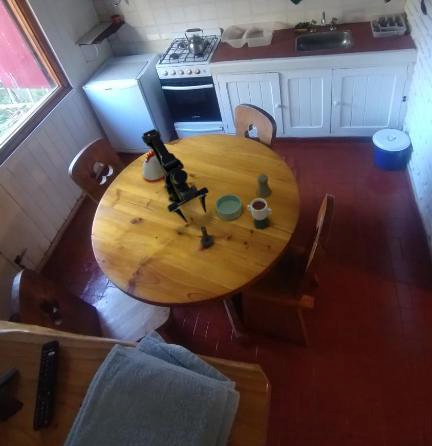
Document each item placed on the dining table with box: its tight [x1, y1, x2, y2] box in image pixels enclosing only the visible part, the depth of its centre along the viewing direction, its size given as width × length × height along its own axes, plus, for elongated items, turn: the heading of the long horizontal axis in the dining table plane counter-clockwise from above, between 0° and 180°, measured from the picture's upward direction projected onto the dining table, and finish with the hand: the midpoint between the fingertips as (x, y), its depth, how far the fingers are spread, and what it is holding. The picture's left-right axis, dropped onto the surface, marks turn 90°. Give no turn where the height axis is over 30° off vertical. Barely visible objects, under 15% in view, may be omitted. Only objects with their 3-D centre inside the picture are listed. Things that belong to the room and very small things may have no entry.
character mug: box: [246, 197, 273, 230], centre depth 151 cm, size 11×7×13 cm, turn 69°
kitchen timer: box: [141, 149, 165, 183], centre depth 189 cm, size 14×14×15 cm
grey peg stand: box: [200, 225, 214, 248], centre depth 149 cm, size 5×5×10 cm
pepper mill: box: [256, 173, 271, 198], centre depth 166 cm, size 6×6×11 cm
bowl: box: [214, 193, 243, 221], centre depth 163 cm, size 12×12×4 cm
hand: (196, 217), depth 149 cm, fingers open, 9 cm apart
